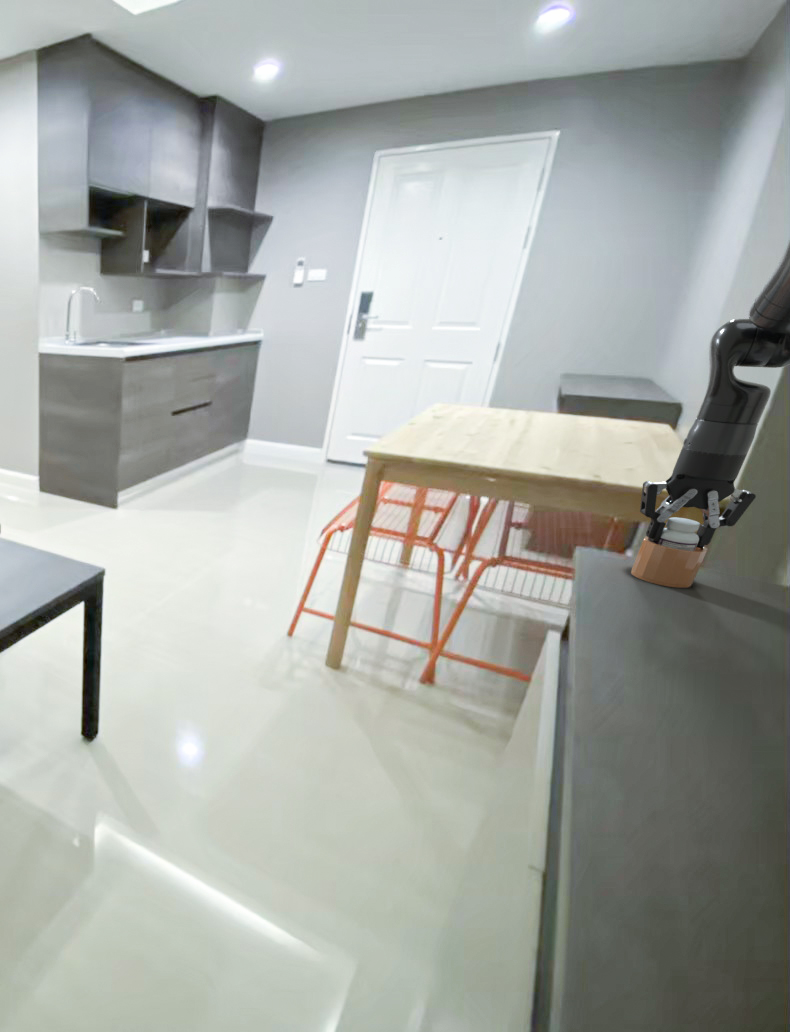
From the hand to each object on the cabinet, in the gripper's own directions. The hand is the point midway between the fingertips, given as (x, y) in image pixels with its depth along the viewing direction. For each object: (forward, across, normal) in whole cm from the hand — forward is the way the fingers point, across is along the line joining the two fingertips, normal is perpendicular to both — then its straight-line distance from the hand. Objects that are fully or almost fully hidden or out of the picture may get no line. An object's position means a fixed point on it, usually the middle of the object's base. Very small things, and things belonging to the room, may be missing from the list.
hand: (675, 543), depth 106 cm
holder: (+7, 0, 0) cm, 7 cm away
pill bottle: (+6, 0, 0) cm, 6 cm away
